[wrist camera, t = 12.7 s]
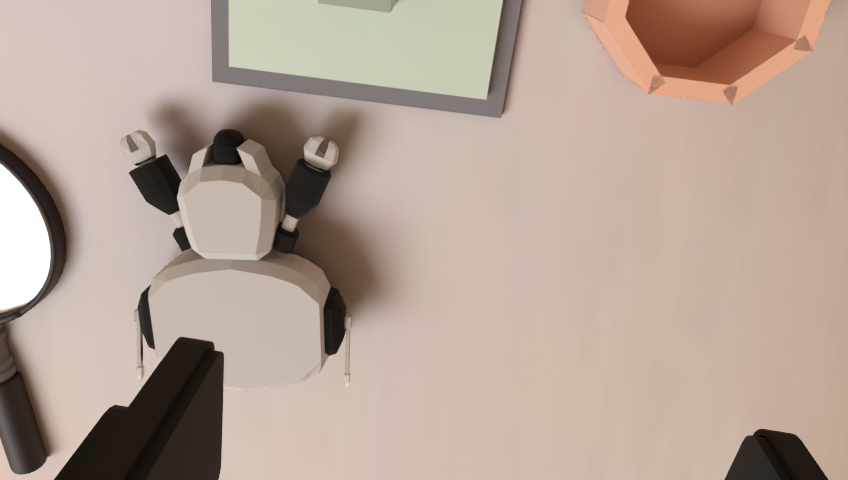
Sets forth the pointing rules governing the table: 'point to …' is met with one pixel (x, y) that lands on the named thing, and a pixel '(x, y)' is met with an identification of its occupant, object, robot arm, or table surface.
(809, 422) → the table surface
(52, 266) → the magnifying glass
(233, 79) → the mat
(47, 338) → the table surface
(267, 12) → the cover
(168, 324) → the robot toy
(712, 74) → the bowl
